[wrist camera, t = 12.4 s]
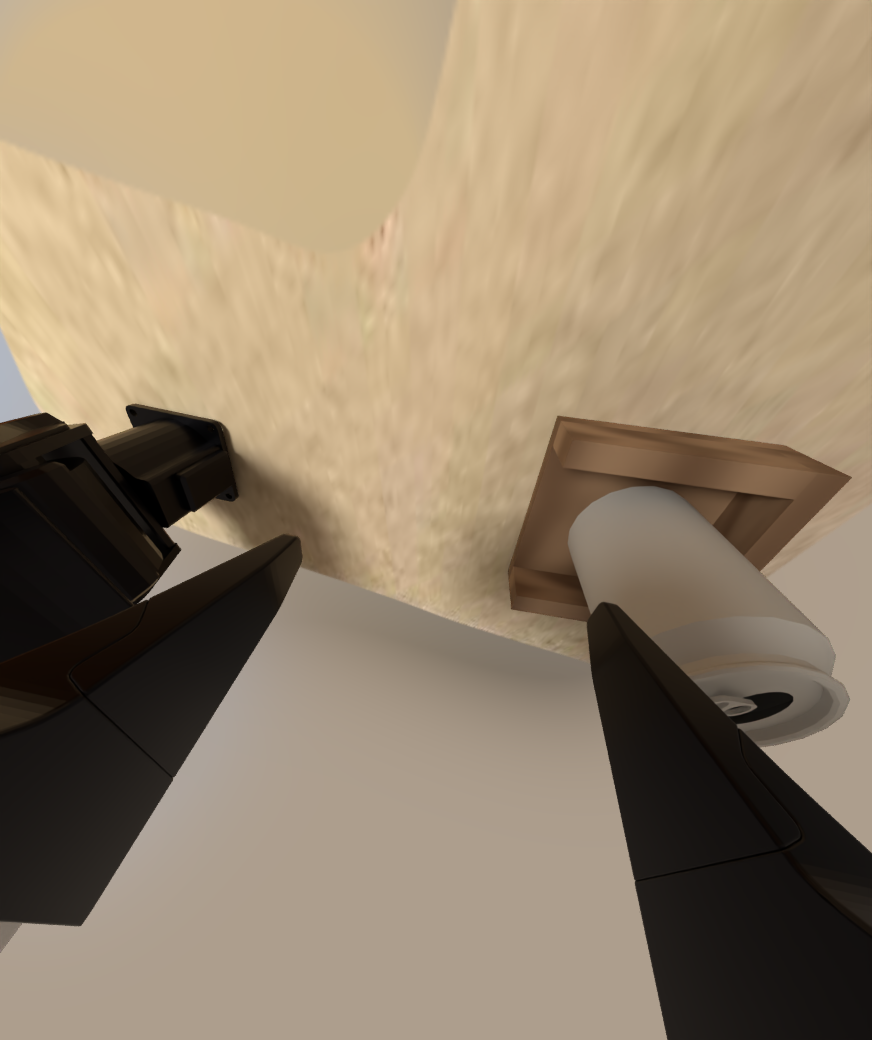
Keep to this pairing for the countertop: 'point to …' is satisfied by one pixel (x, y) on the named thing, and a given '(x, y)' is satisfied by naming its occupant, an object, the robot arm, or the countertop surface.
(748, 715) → the can
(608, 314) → the countertop surface
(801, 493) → the brown wooden square tray
